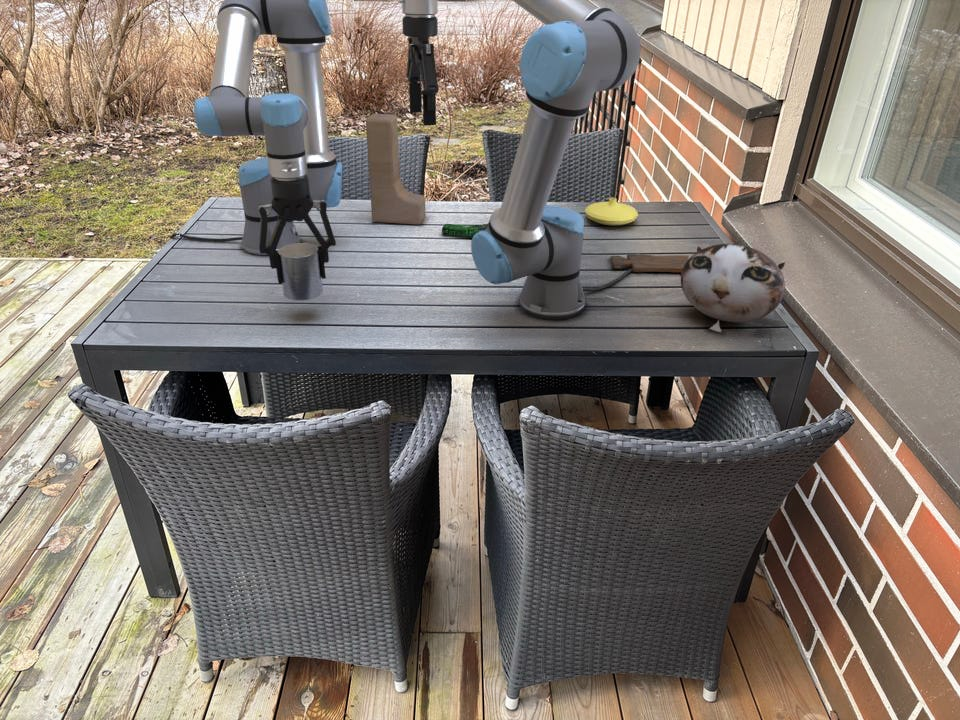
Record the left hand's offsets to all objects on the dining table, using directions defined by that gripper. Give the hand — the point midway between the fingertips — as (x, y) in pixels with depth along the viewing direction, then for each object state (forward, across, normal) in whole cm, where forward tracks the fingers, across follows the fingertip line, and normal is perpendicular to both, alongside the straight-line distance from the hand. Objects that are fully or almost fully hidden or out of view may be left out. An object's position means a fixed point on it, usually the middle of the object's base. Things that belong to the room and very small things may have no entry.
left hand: (301, 278), depth 156 cm
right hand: (-29, +32, +15) cm, 46 cm away
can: (+3, 0, 0) cm, 3 cm away
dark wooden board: (+9, +92, +1) cm, 92 cm away
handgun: (+9, +54, +39) cm, 67 cm away
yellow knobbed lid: (+9, +96, +35) cm, 102 cm away
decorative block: (+9, +35, +55) cm, 66 cm away
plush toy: (+9, +90, -30) cm, 95 cm away
